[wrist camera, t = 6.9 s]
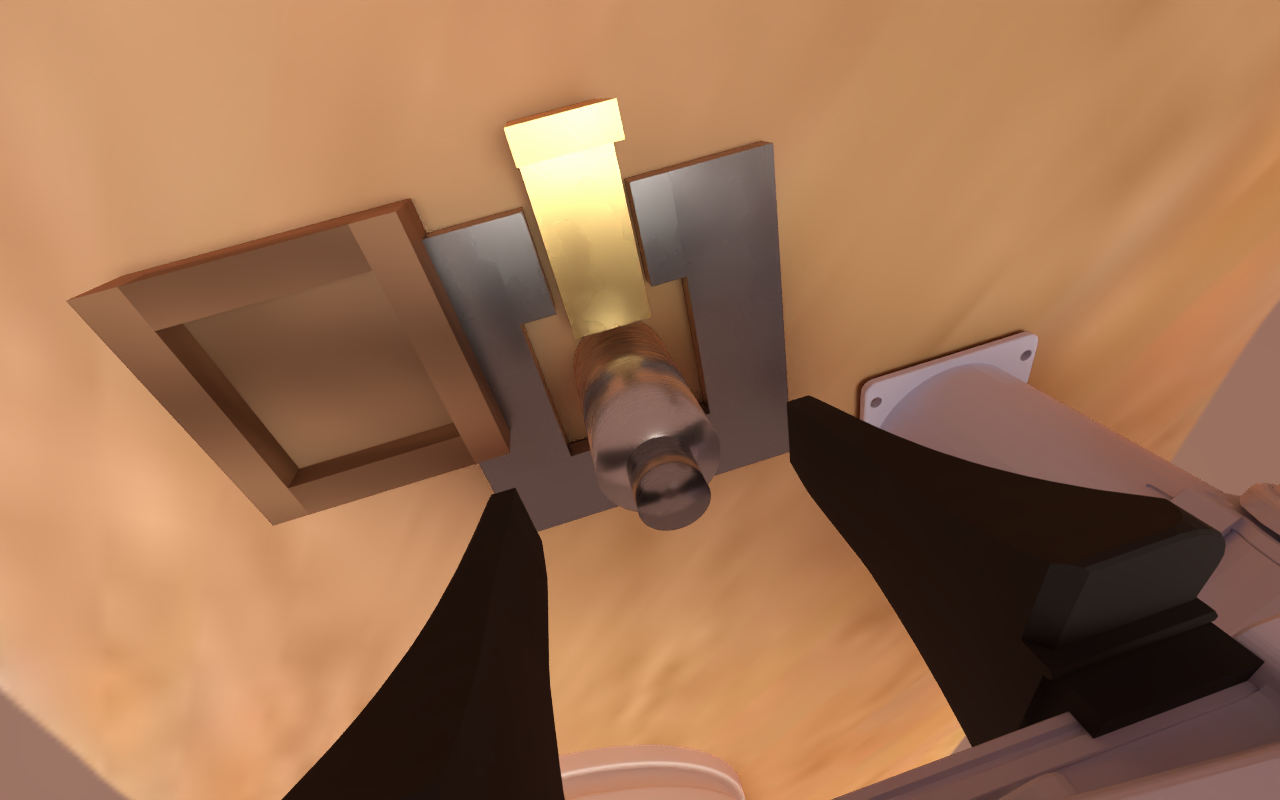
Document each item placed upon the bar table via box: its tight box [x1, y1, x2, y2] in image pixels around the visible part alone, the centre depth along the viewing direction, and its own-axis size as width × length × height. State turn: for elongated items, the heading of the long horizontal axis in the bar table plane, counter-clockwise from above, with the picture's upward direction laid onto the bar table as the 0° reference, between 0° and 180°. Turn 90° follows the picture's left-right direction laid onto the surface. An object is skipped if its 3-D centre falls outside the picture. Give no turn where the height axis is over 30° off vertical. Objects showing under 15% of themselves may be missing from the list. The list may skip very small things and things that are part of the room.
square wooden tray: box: [67, 198, 511, 526], centre depth 15 cm, size 8×8×2 cm
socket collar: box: [422, 141, 790, 532], centre depth 18 cm, size 12×12×1 cm
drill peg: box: [574, 321, 721, 531], centre depth 15 cm, size 3×3×8 cm
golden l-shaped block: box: [504, 98, 651, 339], centre depth 14 cm, size 6×2×4 cm, turn 13°
